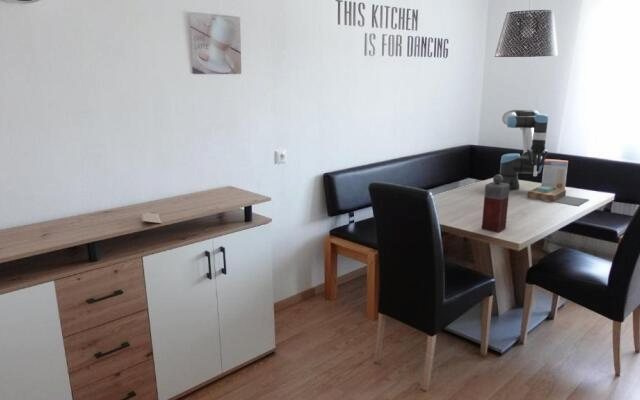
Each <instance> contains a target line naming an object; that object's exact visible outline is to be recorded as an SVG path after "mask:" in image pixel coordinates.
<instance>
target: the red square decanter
mask: <svg viewBox="0 0 640 400" xmlns="http://www.w3.org/2000/svg"><path fill="white" fill-rule="evenodd" d="M492 180H493V181H491V182H489V183H486V184H485V186H484V198H483V210H482V221H481V230H483V231H489V232H493V233H498V234H499V233H501V232H503V231H504V230H506V227H507V218H508V217H507V216H508V207H509V198H510V197H509V196H510V190H509V188H510V185H509V184H507V183H501V182H502V181H503V177H502V175H500V173H499V174H496V175H494V176H493V177H492Z"/></svg>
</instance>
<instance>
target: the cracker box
mask: <svg viewBox="0 0 640 400" xmlns="http://www.w3.org/2000/svg"><path fill="white" fill-rule="evenodd" d="M568 165H569V160H562V159H550V158H545V161H544V163H543V166H542V168H543V169H542V176H541V177H542V179H541V184H540V185H541V186H550V187H553V188H556V189H562V190H566V185H567V174H568Z"/></svg>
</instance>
